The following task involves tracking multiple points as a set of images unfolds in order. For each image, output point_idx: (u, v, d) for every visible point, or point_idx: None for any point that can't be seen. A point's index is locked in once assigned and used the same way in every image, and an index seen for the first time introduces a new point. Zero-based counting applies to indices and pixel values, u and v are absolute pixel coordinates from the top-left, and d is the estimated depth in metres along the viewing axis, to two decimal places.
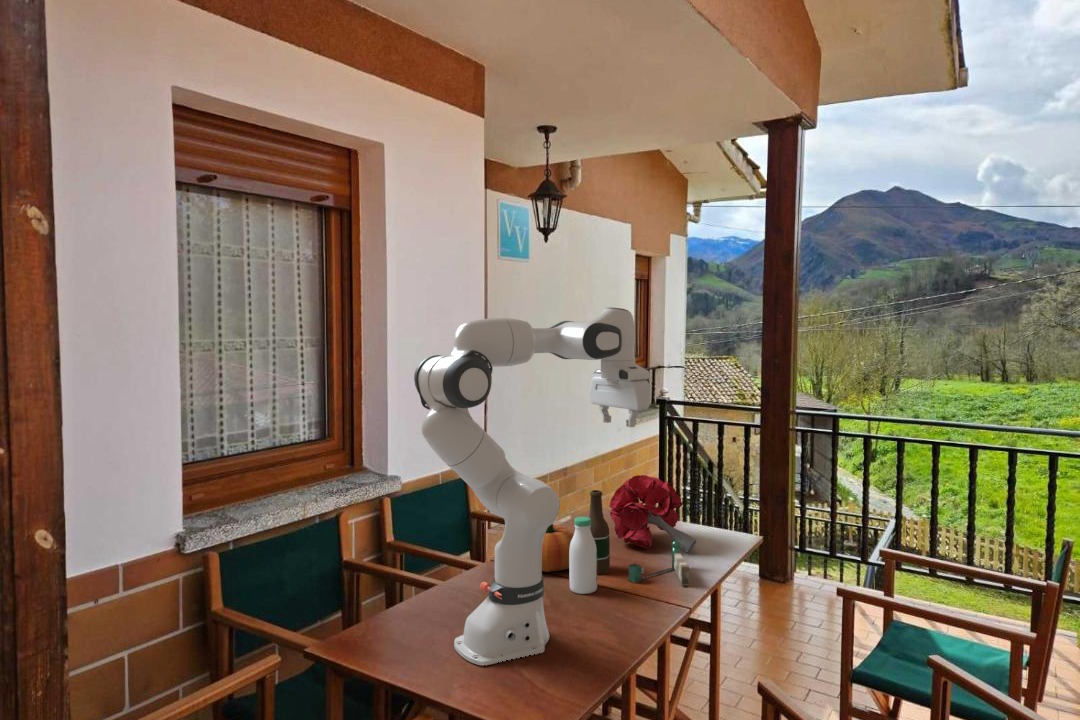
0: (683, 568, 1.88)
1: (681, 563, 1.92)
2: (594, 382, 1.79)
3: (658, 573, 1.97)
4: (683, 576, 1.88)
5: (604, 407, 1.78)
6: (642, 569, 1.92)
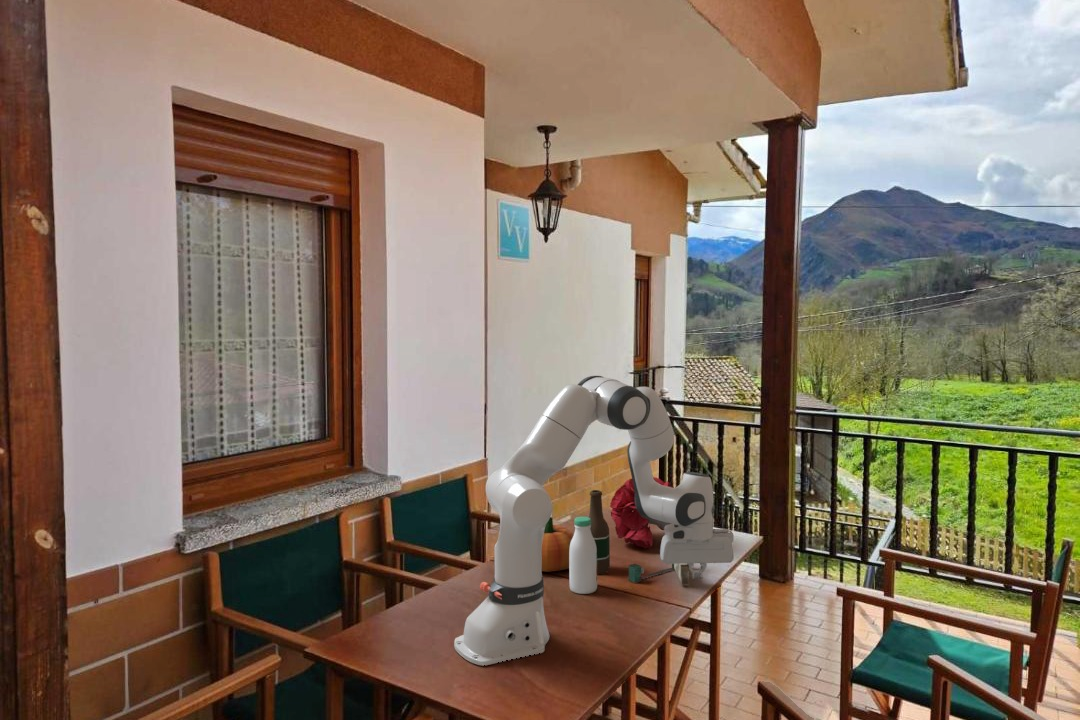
0: (683, 568, 1.88)
1: None
2: None
3: (658, 573, 1.97)
4: (683, 576, 1.88)
5: (700, 563, 1.90)
6: (642, 569, 1.92)
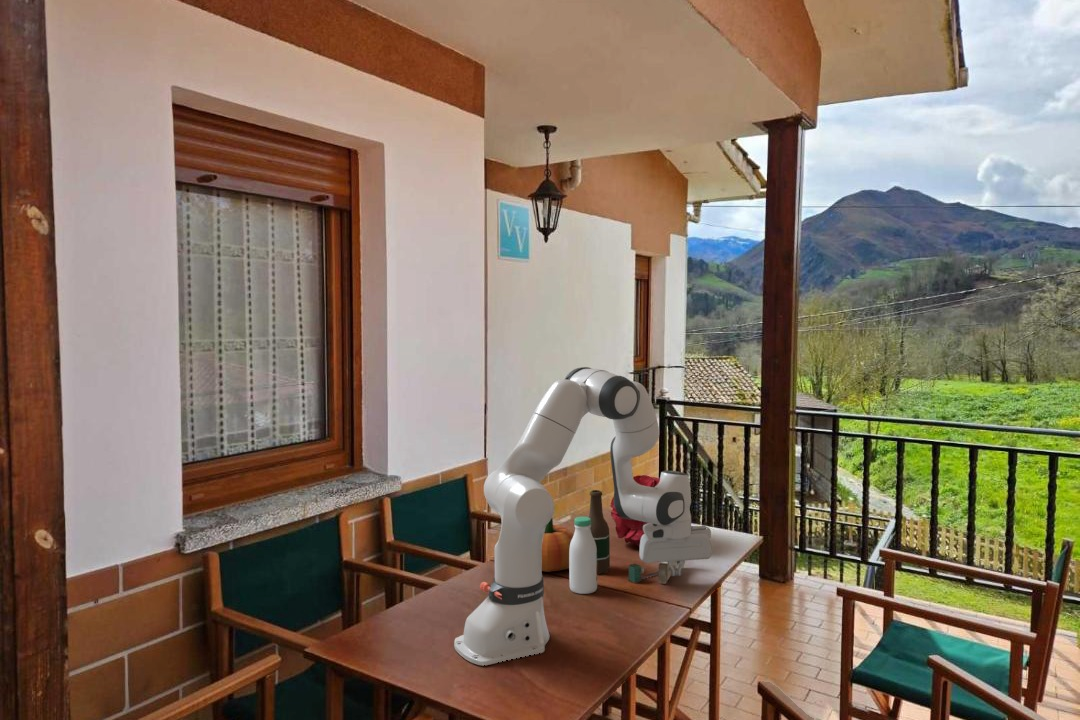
0: (660, 566, 1.90)
1: (664, 562, 1.93)
2: None
3: (658, 573, 1.97)
4: (660, 574, 1.90)
5: (678, 560, 1.91)
6: (642, 569, 1.92)
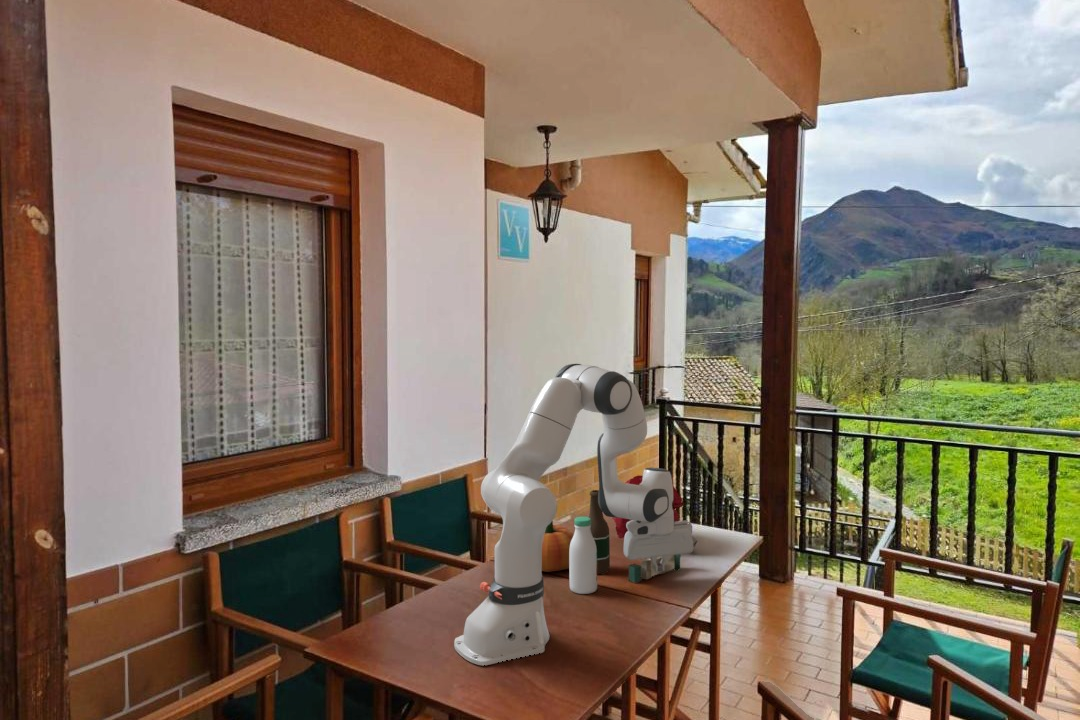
0: (642, 561, 1.94)
1: None
2: None
3: None
4: None
5: (661, 556, 1.94)
6: (642, 569, 1.92)
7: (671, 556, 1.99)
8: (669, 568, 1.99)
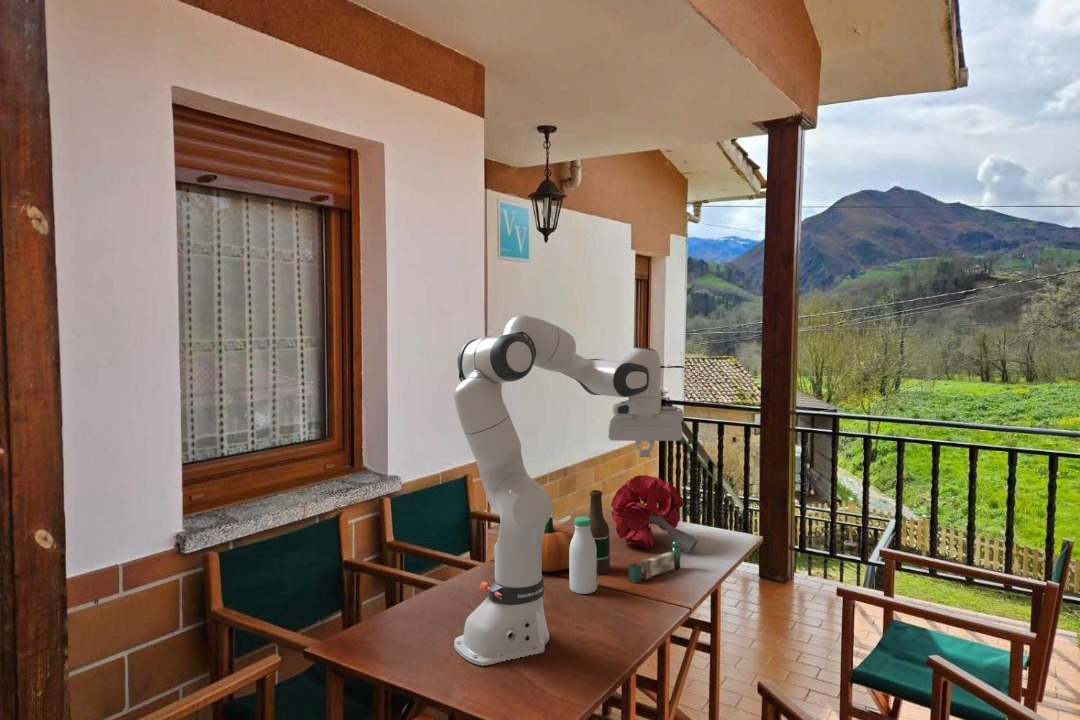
0: (642, 561, 1.94)
1: (652, 558, 1.96)
2: None
3: None
4: None
5: None
6: (642, 569, 1.92)
7: (671, 556, 1.99)
8: (669, 568, 1.99)
